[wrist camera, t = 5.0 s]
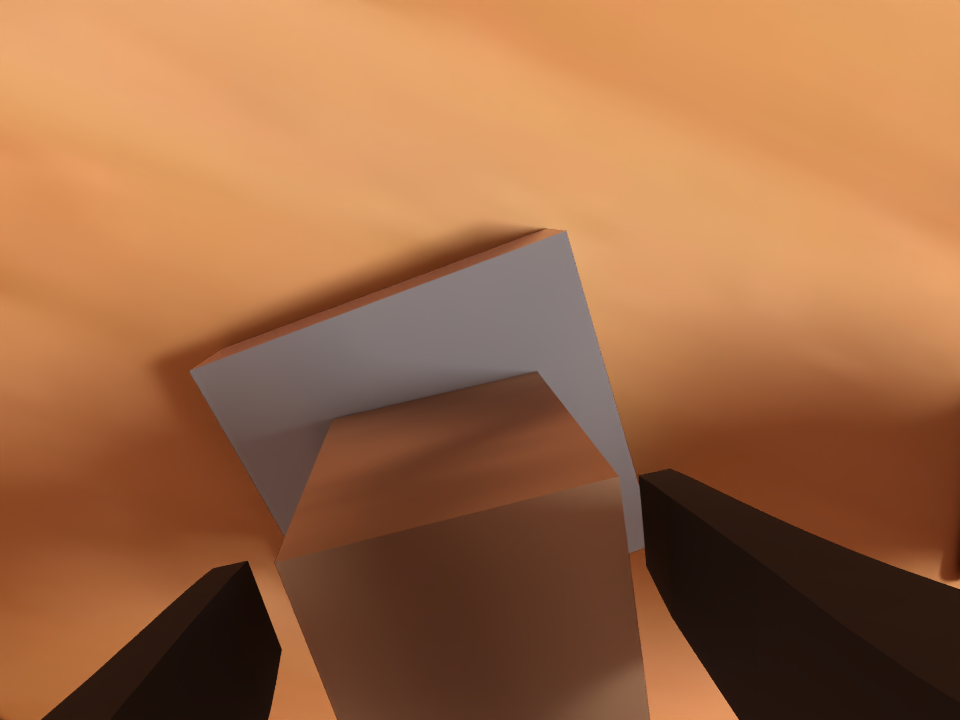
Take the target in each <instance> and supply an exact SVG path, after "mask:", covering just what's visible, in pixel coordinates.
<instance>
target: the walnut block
mask: <svg viewBox="0 0 960 720" xmlns="http://www.w3.org/2000/svg"><path fill="white" fill-rule="evenodd" d="M274 563H275V565H276V568H277V570H278V573H279V575H280V578H281V580H282V583H283V585H284V588H285V590H286V593H287V595H288V598H289V600H290V603H291V605H292V608H293V610H294V613H295V615H296V618H297V620H298V623H299V625H300V628H301V630H302V633H303V635H304V638H305V640H306V643H307V645H308V648H309V650H310V653H311V655H312V658H313V660H314V663H315V665H316V668H317V670H318V673H319V675H320V678H321V680H322V683H323V685H324V688H325V690H326V693H327V695H328V698H329V700H330V703H331V705H332V708H333V710H334V713H335V715H336V718H337V720H650V714H649V706H648V698H647V690H646V683H645V675H644V667H643V659H642V651H641V644H640V636H639V628H638V620H637V612H636V605H635V597H634V589H633V581H632V573H631V566H630V558H629V550H628V542H627V534H626V527H625V519H624V511H623V503H622V495H621V488H620V480H619V476H618V474H617V473H616V472H615V470H614V469H613V468H612V467H611V465H610V464H609V463H608V461H607V460H606V459H605V458H604V456H603V455H602V454H601V452H600V451H599V450H598V449H597V447H596V446H595V445H594V443H593V442H592V441H591V440H590V438H589V437H588V436H587V434H586V433H585V432H584V431H583V429H582V428H581V427H580V425H579V424H578V423H577V422H576V420H575V419H574V418H573V416H572V415H571V414H570V413H569V411H568V410H567V409H566V407H565V406H564V405H563V404H562V402H561V401H560V400H559V398H558V397H557V396H556V395H555V393H554V392H553V391H552V389H551V388H550V387H549V386H548V384H547V383H546V382H545V380H544V379H543V378H542V377H541V375H540V374H539V373H538V371H537V372H532V373H528V374H524V375H520V376H515V377H511V378H507V379H502V380H498V381H494V382H490V383H485V384H481V385H477V386H473V387H468V388H464V389H460V390H455V391H451V392H447V393H443V394H438V395H434V396H430V397H426V398H421V399H417V400H413V401H408V402H404V403H400V404H396V405H391V406H387V407H383V408H379V409H374V410H370V411H366V412H361V413H357V414H353V415H349V416H344V417H340V418H336V419H333V420H332V422H331V424H330V427H329V429H328V432H327V434H326V437H325V439H324V442H323V444H322V447H321V449H320V452H319V454H318V456H317V459H316V461H315V464H314V466H313V469H312V471H311V474H310V476H309V479H308V481H307V484H306V486H305V489H304V491H303V493H302V496H301V498H300V501H299V503H298V506H297V508H296V511H295V513H294V516H293V518H292V521H291V523H290V525H289V528H288V530H287V533H286V535H285V538H284V540H283V543H282V545H281V548H280V550H279V553H278V555H277V557H276V560H275V562H274Z"/></svg>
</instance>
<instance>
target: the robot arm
mask: <svg viewBox="0 0 960 720" xmlns="http://www.w3.org/2000/svg"><path fill="white" fill-rule="evenodd" d="M639 486H640V498H641V510H642V521H643V533H644V544H645V556H646V566H647V568H648V570H649V572H650V574H651V576H652V579H653V581H654V583H655V585H656V587H657V589H658V591H659V593H660V595H661V597H662V599H663V601H664V603H665V604H666V606H667V608H668V610H669V612H670V614H671V616H672V618H673V620H674V621H675V623H676V624H677V626H678V627H679V629H680V631H681V632H682V634H683V635H684V637H685V638H686V640H687V641H688V643H689V644H690V646H691V647H692V649H693V651H694V652H695V654H696V655H697V657H698V658H699V660H700V661H701V663H702V664H703V666H704V667H705V669H706V670H707V672H708V673H709V675H710V676H711V678H712V680H713V681H714V683H715V684H716V686H717V687H718V689H719V690H720V692H721V693H722V695H723V696H724V698H725V699H726V701H727V702H728V704H729V705H730V707H731V708H732V710H733V711H734V713H735V714H736V716H737V717H738V719H739V720H960V589H957V588H954V587H951V586H949V585H946V584H943V583H940V582H937V581H934V580H931V579H928V578H926V577H923V576H920V575H917V574H914V573H911V572H908V571H905V570H903V569H900V568H897V567H894V566H891V565H888V564H886V563H883V562H880V561H878V560H875V559H873V558H870V557H867V556H865V555H862V554H860V553H857V552H855V551H852V550H850V549H847V548H845V547H842V546H840V545H838V544H835V543H833V542H830V541H828V540H825V539H823V538H821V537H818V536H816V535H813V534H811V533H809V532H806V531H804V530H802V529H799V528H797V527H795V526H793V525H790V524H788V523H786V522H784V521H781V520H779V519H777V518H775V517H773V516H770V515H768V514H766V513H764V512H762V511H760V510H758V509H755V508H753V507H751V506H749V505H747V504H745V503H743V502H741V501H738V500H736V499H734V498H732V497H730V496H728V495H726V494H724V493H722V492H720V491H718V490H716V489H714V488H711V487H709V486H707V485H705V484H703V483H701V482H699V481H697V480H695V479H693V478H690V477H688V476H686V475H684V474H682V473H679V472H677V471H675V470H672V469H667V470H662V471H657V472H653V473H648V474H644V475H639ZM281 651H282V649H281V646H280V644H279V641H278V639H277V636H276V633H275V631H274V628H273V625H272V623H271V620H270V618H269V615H268V612H267V610H266V607H265V605H264V602H263V599H262V597H261V594H260V592H259V589H258V586H257V584H256V581H255V578H254V576H253V573H252V571H251V568H250V565H249V563H248V561H245V562H240V563H236V564H231V565H226V566H222V567H217V568H213V569H212V570H211V571H209V572H208V573H207V574H205V575H204V576H203V577H202V578H200V579H199V580H198V581H197V582H196V583H194V584H193V585H192V586H191V587H190V588H189V589H187V590H186V591H185V592H184V593H183V594H182V595H181V596H180V597H178V598H177V599H176V600H175V601H174V602H173V603H172V604H171V605H170V606H168V607H167V608H166V609H165V610H164V611H163V612H162V613H161V614H160V615H159V616H157V617H156V618H155V619H154V620H153V621H152V622H151V623H150V624H149V625H148V626H146V627H145V628H144V629H143V630H142V631H141V632H140V633H139V634H138V635H137V636H135V637H134V638H133V639H132V640H131V641H130V642H129V643H128V644H127V645H125V646H124V647H123V648H122V649H121V650H120V651H119V652H118V653H117V654H116V655H114V656H113V657H112V658H111V659H110V660H109V661H108V662H107V663H106V664H105V665H103V666H102V667H101V668H100V669H99V670H98V671H97V672H96V673H95V674H93V675H92V676H91V677H90V678H89V679H88V680H87V681H85V682H84V683H83V684H82V685H81V686H80V687H78V688H77V689H76V690H75V691H74V692H73V693H71V694H70V695H69V696H68V697H67V698H66V699H64V700H63V701H62V702H61V703H60V704H59V705H58V706H56V707H55V708H54V709H53V710H52V711H51V712H49V713H48V714H47V715H46V716H45V717H44V718H42V719H41V720H268V718H269V714H270V710H271V705H272V700H273V695H274V690H275V685H276V680H277V674H278V668H279V662H280V656H281Z"/></svg>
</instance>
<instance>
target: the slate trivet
mask: <svg viewBox="0 0 960 720" xmlns="http://www.w3.org/2000/svg"><path fill="white" fill-rule="evenodd" d="M537 371H538V373H539V374H540V375H541V377H542V378H543V379H544V380H545V382H546V383H547V384H548V386H549V387H550V388H551V389H552V391H553V392H554V393H555V395H556V396H557V397H558V398H559V400H560V401H561V402H562V404H563V405H564V406H565V407H566V409H567V410H568V411H569V413H570V414H571V415H572V416H573V418H574V419H575V420H576V422H577V423H578V424H579V425H580V427H581V428H582V429H583V431H584V432H585V433H586V434H587V436H588V437H589V438H590V440H591V441H592V442H593V443H594V445H595V446H596V447H597V449H598V450H599V451H600V452H601V454H602V455H603V456H604V458H605V459H606V460H607V461H608V463H609V464H610V465H611V467H612V468H613V469H614V470H615V472H616V473H617V474H618V476H619V480H620V488H621V495H622V503H623V511H624V519H625V527H626V534H627V542H628V550H629V554H630V553H632V552H635V551H638V550H640V549H643V548H645V544H644V533H643V521H642V510H641V498H640V487H639V484H638V480H637V477H636V473H635V470H634V466H633V463H632V459H631V456H630V452H629V449H628V445H627V442H626V438H625V435H624V431H623V428H622V424H621V421H620V417H619V414H618V410H617V407H616V403H615V400H614V396H613V393H612V389H611V386H610V382H609V379H608V375H607V372H606V368H605V365H604V361H603V358H602V354H601V351H600V347H599V344H598V340H597V337H596V333H595V330H594V326H593V323H592V319H591V316H590V312H589V309H588V305H587V302H586V298H585V295H584V291H583V288H582V284H581V281H580V277H579V274H578V270H577V267H576V263H575V260H574V256H573V253H572V249H571V246H570V242H569V239H568V235H567V232H566V231H564V230H555V229H543V230H540V231H538V232H535V233H532V234H530V235H527V236H524V237H522V238H519V239H516V240H514V241H511V242H508V243H505V244H503V245H500V246H497V247H495V248H492V249H489V250H487V251H484V252H481V253H479V254H476V255H473V256H470V257H468V258H465V259H462V260H460V261H457V262H454V263H452V264H449V265H446V266H444V267H441V268H438V269H435V270H433V271H430V272H427V273H425V274H422V275H419V276H417V277H414V278H411V279H409V280H406V281H403V282H400V283H398V284H395V285H392V286H390V287H387V288H384V289H382V290H379V291H376V292H374V293H371V294H368V295H365V296H363V297H360V298H357V299H355V300H352V301H349V302H347V303H344V304H341V305H339V306H336V307H333V308H330V309H328V310H325V311H322V312H320V313H317V314H314V315H312V316H309V317H306V318H304V319H301V320H298V321H295V322H293V323H290V324H287V325H285V326H282V327H279V328H277V329H274V330H271V331H269V332H266V333H263V334H260V335H258V336H255V337H252V338H250V339H247V340H244V341H242V342H239V343H236V344H234V345H231V346H228V347H225V348H223V349H221V350H220V351H218V352H217V353H215V354H214V355H212V356H210V357H209V358H207V359H206V360H204V361H203V362H201V363H200V364H198V365H197V366H195V367H194V368H192V369H191V370H189V372H190V374H191V375H192V377H193V379H194V381H195V382H196V384H197V386H198V388H199V389H200V391H201V393H202V395H203V396H204V398H205V400H206V401H207V403H208V405H209V407H210V408H211V410H212V412H213V414H214V415H215V417H216V419H217V421H218V422H219V424H220V426H221V427H222V429H223V431H224V433H225V434H226V436H227V438H228V440H229V441H230V443H231V445H232V447H233V448H234V450H235V452H236V453H237V455H238V457H239V459H240V460H241V462H242V464H243V466H244V467H245V469H246V471H247V473H248V474H249V476H250V478H251V479H252V481H253V483H254V485H255V486H256V488H257V490H258V492H259V493H260V495H261V497H262V499H263V500H264V502H265V504H266V505H267V507H268V509H269V511H270V512H271V514H272V516H273V518H274V519H275V521H276V523H277V525H278V526H279V528H280V530H281V531H282V533H283V535H284V537H285V535H286V533H287V530H288V528H289V525H290V523H291V521H292V518H293V516H294V513H295V511H296V508H297V506H298V503H299V501H300V498H301V496H302V493H303V491H304V489H305V486H306V484H307V481H308V479H309V476H310V474H311V471H312V469H313V466H314V464H315V461H316V459H317V456H318V454H319V452H320V449H321V447H322V444H323V442H324V439H325V437H326V434H327V432H328V429H329V427H330V424H331V422H332V420H333V419H336V418H340V417H344V416H349V415H353V414H357V413H361V412H366V411H370V410H374V409H379V408H383V407H387V406H391V405H396V404H400V403H404V402H408V401H413V400H417V399H421V398H426V397H430V396H434V395H438V394H443V393H447V392H451V391H455V390H460V389H464V388H468V387H473V386H477V385H481V384H485V383H490V382H494V381H498V380H502V379H507V378H511V377H515V376H520V375H524V374H528V373H532V372H537Z"/></svg>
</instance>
